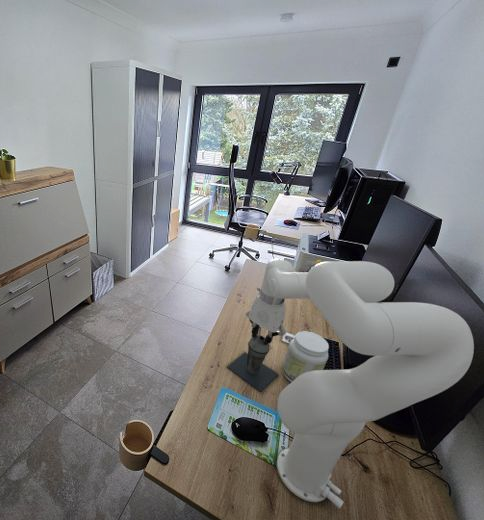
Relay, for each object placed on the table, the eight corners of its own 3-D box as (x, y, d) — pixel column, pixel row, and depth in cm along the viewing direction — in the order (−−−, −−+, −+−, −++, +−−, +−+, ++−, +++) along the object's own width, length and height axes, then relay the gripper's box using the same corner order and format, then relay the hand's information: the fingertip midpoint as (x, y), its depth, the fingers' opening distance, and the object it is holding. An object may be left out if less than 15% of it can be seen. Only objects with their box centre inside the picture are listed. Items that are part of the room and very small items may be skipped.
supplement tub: (312, 366, 111) (326, 332, 103) (321, 393, 101) (337, 357, 93) (278, 360, 114) (289, 326, 106) (283, 384, 103) (296, 349, 96)
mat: (277, 375, 107) (278, 374, 107) (260, 392, 101) (260, 391, 100) (244, 353, 117) (245, 352, 117) (226, 367, 110) (227, 366, 110)
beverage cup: (264, 378, 105) (277, 336, 95) (243, 375, 106) (254, 333, 97) (260, 363, 111) (272, 322, 102) (241, 360, 112) (251, 319, 103)
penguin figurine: (292, 285, 164) (300, 261, 157) (293, 276, 173) (300, 254, 166) (333, 294, 156) (343, 270, 149) (332, 285, 164) (341, 261, 158)
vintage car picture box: (322, 346, 121) (326, 338, 119) (321, 356, 116) (325, 347, 114) (284, 332, 128) (286, 324, 126) (281, 341, 123) (284, 333, 121)
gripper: (242, 288, 97) (234, 331, 105) (292, 313, 85) (278, 358, 94) (255, 281, 101) (245, 322, 109) (303, 304, 90) (289, 348, 98)
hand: (260, 338), depth 101 cm, fingers closed on beverage cup, 4 cm apart
